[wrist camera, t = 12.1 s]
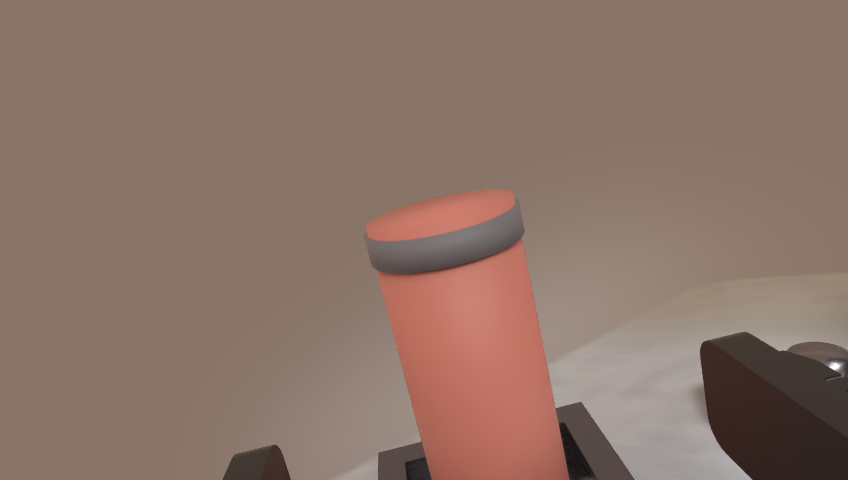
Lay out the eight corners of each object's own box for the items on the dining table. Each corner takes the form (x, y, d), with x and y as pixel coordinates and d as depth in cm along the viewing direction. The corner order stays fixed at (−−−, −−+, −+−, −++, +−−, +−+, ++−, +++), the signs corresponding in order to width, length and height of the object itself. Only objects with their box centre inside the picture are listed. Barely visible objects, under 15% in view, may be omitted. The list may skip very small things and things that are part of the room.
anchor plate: (911, 381, 23) (910, 330, 22) (949, 418, 20) (948, 362, 20) (716, 393, 25) (711, 347, 24) (730, 427, 22) (724, 377, 22)
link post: (591, 526, 19) (525, 180, 17) (591, 642, 15) (505, 216, 13) (470, 525, 21) (391, 204, 18) (443, 632, 17) (337, 244, 14)
